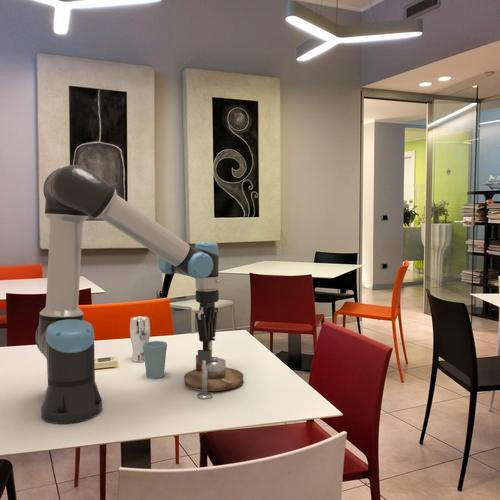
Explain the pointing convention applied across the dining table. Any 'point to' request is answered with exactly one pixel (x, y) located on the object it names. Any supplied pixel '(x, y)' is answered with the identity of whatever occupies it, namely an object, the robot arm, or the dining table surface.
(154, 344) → the cup
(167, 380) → the dining table surface
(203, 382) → the indicator post
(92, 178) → the robot arm
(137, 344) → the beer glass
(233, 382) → the turntable
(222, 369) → the cover
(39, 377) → the dining table surface
